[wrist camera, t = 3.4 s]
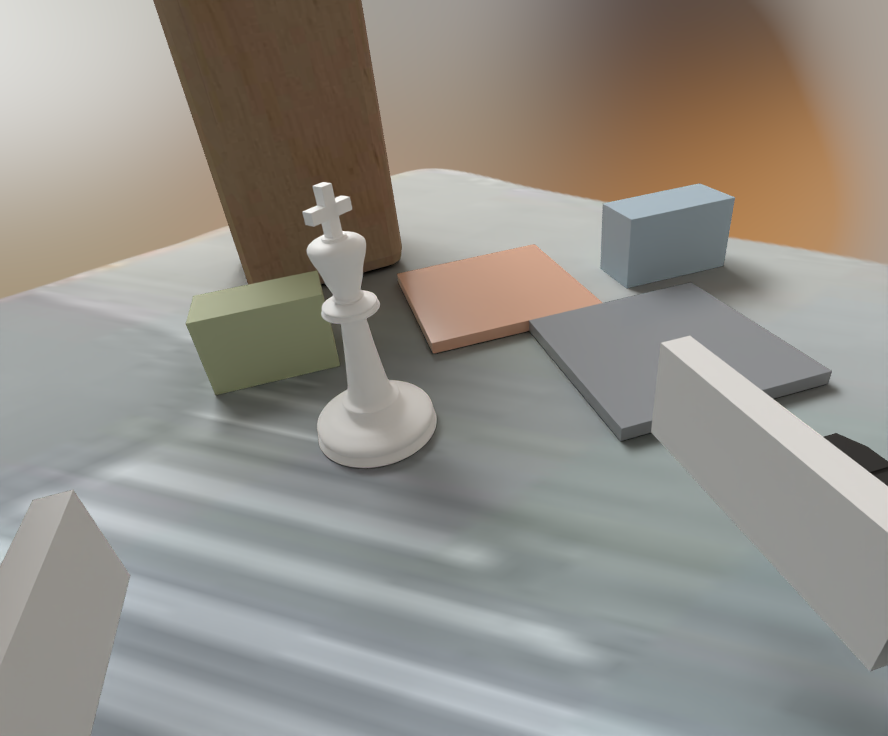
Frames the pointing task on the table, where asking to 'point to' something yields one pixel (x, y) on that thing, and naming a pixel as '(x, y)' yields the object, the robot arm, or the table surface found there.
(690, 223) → the brick blue
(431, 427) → the chess piece
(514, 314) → the pad terracotta
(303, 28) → the wooden block
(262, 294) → the brick olive
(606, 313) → the pad slate
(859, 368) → the table surface
